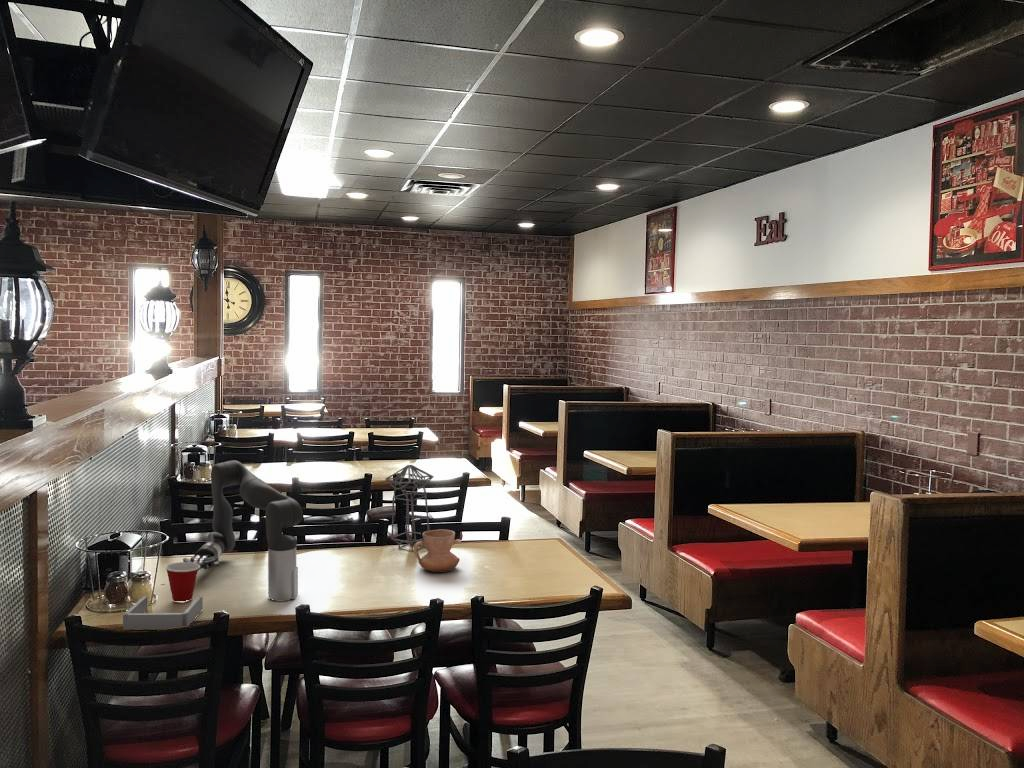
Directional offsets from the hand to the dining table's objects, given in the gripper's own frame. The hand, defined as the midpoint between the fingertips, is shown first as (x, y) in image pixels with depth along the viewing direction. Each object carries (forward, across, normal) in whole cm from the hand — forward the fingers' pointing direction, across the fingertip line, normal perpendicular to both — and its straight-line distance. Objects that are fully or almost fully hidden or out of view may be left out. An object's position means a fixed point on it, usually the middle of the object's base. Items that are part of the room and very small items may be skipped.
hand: (193, 569), depth 276 cm
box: (+29, 0, +6) cm, 30 cm away
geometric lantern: (-49, +72, +7) cm, 87 cm away
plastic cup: (+11, 0, +7) cm, 13 cm away
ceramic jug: (-20, +84, +7) cm, 87 cm away
